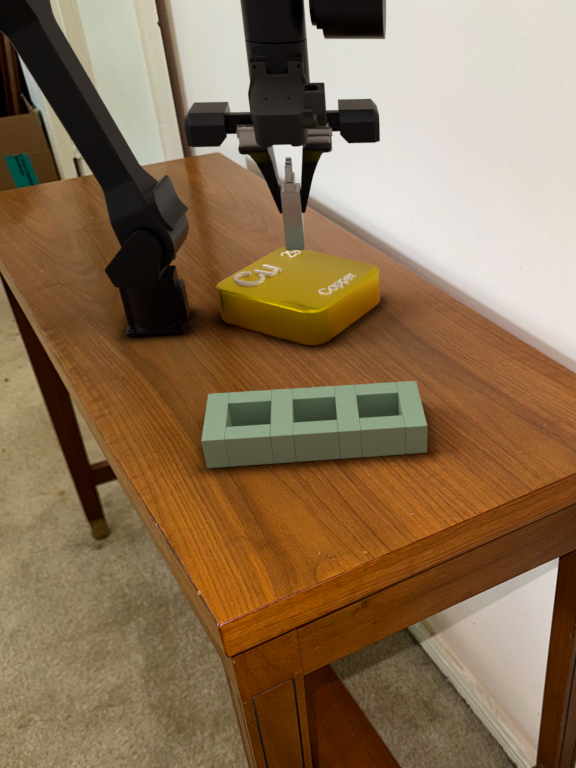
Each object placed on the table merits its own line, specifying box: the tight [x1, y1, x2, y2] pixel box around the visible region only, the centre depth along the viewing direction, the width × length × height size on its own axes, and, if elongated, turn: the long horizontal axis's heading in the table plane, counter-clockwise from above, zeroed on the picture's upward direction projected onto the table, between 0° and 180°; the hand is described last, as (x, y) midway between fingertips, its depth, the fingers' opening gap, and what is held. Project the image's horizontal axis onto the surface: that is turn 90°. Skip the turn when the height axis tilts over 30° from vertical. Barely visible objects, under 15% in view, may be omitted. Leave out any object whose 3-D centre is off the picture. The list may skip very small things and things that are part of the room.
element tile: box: [215, 245, 381, 347], centre depth 91 cm, size 15×15×5 cm
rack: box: [200, 380, 428, 469], centre depth 71 cm, size 20×8×3 cm, turn 97°
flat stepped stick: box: [280, 156, 306, 251], centre depth 81 cm, size 2×4×8 cm, turn 5°
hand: (292, 212), depth 81 cm, fingers closed on flat stepped stick, 2 cm apart
